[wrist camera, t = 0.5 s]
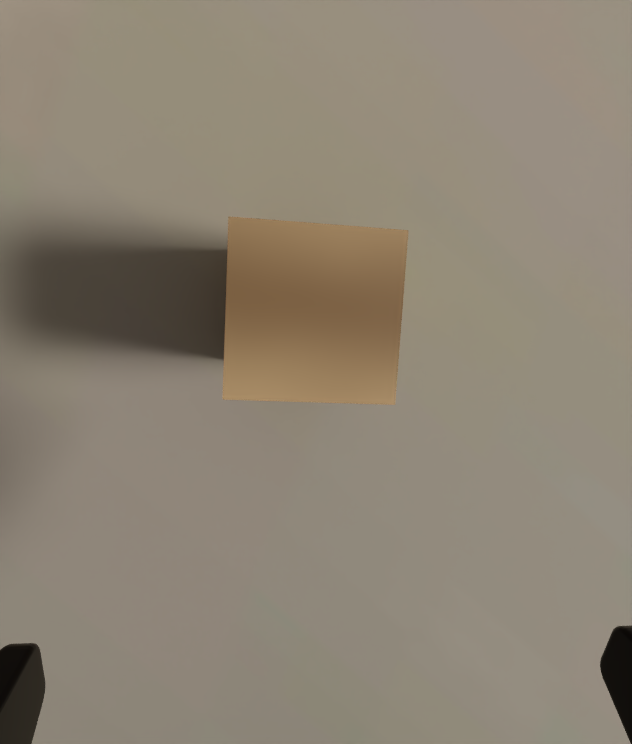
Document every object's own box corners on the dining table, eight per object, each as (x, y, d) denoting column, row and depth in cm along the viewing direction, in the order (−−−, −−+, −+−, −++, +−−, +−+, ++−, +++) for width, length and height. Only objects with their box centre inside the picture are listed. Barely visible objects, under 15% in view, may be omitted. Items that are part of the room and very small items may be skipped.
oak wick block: (339, 365, 22) (394, 404, 14) (232, 360, 22) (222, 399, 13) (346, 257, 22) (408, 230, 13) (236, 249, 21) (228, 216, 13)
